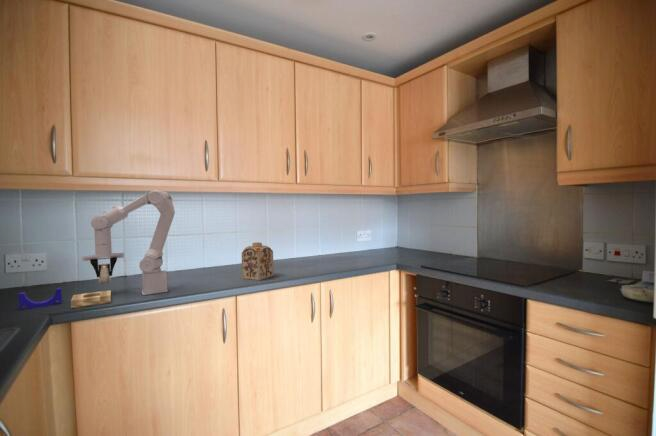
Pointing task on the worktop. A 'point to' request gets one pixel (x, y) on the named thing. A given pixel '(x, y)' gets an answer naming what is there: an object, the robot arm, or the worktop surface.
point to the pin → (104, 273)
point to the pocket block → (91, 299)
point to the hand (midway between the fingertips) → (104, 276)
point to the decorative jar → (257, 262)
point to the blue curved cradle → (32, 304)
